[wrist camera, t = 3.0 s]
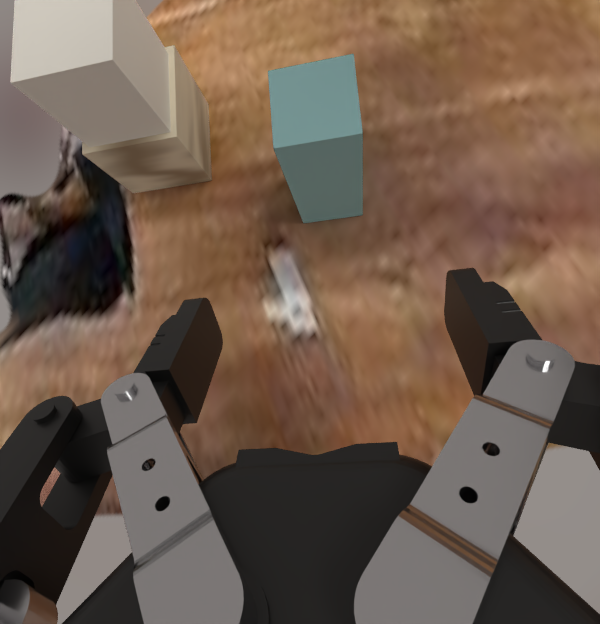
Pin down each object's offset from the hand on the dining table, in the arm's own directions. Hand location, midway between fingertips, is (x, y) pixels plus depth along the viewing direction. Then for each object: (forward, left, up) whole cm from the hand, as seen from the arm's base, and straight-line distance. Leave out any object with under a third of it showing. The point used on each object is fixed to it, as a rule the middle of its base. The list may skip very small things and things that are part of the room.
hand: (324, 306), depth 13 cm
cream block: (+13, -17, -9) cm, 23 cm away
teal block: (0, -11, -15) cm, 19 cm away
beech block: (+13, -17, -15) cm, 26 cm away
